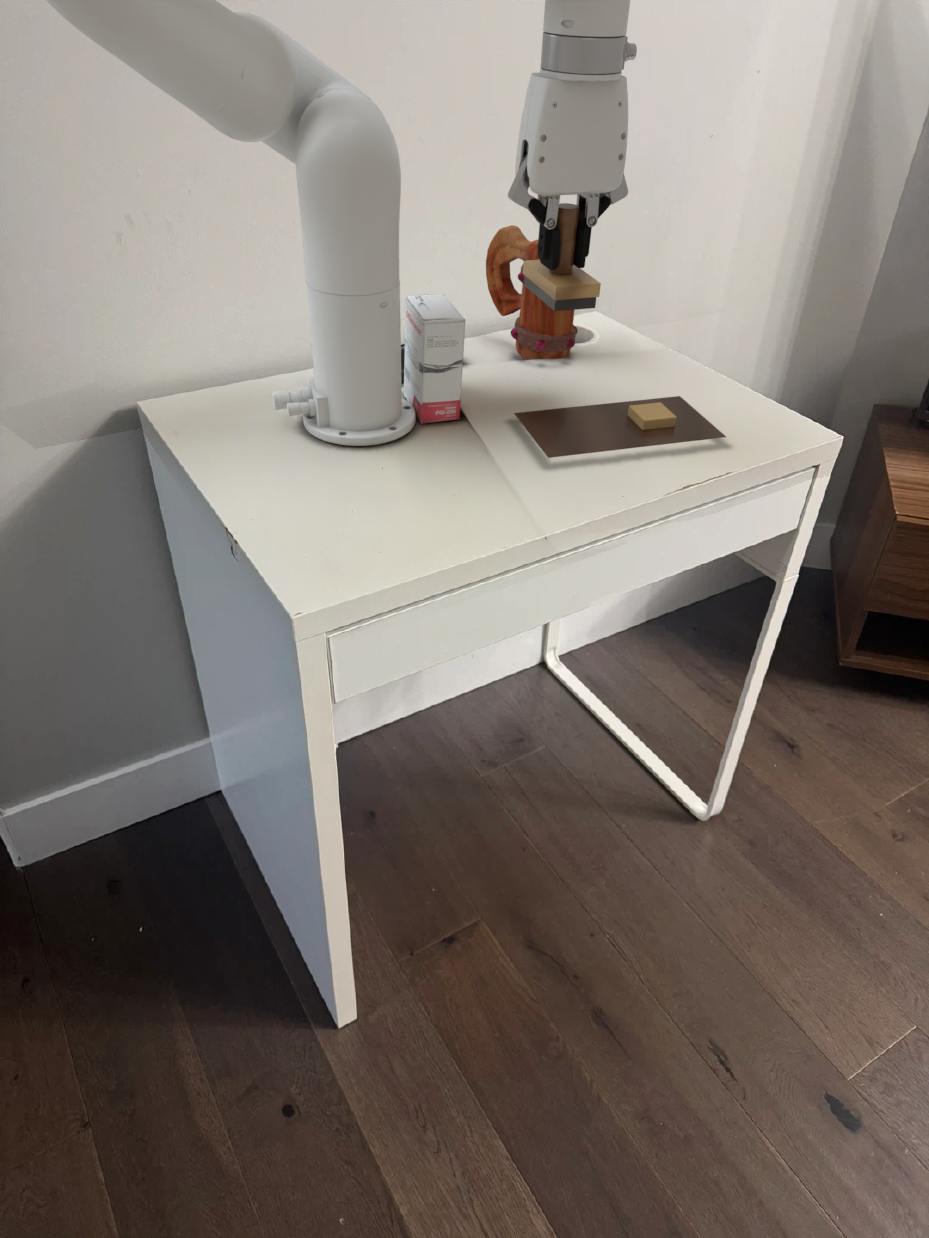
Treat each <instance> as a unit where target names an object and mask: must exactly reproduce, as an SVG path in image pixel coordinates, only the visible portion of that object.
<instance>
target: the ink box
mask: <svg viewBox="0 0 929 1238" xmlns="http://www.w3.org/2000/svg"><path fill="white" fill-rule="evenodd" d="M404 301H405V304H404V305H405V306H404V307H405V308H404V344H405V359H404V382H403V395H404V397H405V400H407V401H408V402H409V403H410V404H411V405H412V406H413V407H414V409H415V413H416V418H417V420H418V421H419V423H420V424H427V423H428V424H429V423H438V422H439V423H440V422H448V421H457V420H458V421H459V420H460V418H461V417H460V416H461V404H462V403H461V399H462V386H463V385H462V383H463V382H462V381H463V366H464V351H465V335H466V318H465V317H464V316H463V315H462V314H461V313H460V312H459V310H458V309H457V308H456V306H454V304H453V303H452V302H451V300H449V298H448V297H447V296H446V295H445V294H427V293H425V294H423V293H422V294H410V295H407V296H406V297H405V300H404Z"/></svg>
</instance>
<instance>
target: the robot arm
mask: <svg viewBox="0 0 929 1238" xmlns="http://www.w3.org/2000/svg"><path fill="white" fill-rule="evenodd" d="M45 1H46V2H47V3H48V4H49V5H50V6H51V7H52V8H53V9H54V10H55V11H56V12H57V13H58V14H59V15H60V16H61V17H62V18H64V19H65V20H66V21H67V22H68V23H69V24H71V25H72V26H73V27H74V28H76V30H78V31H79V32H80V33H82V34H83V35H85V36H86V37H87V38H88V39H90V40H91V41H93V42H94V43H95V44H97V45H98V46H99V47H101V48H102V49H103V50H105V51H106V52H108V53H109V54H111V55H113V56H114V57H115V58H116V59H118V60H120V61H121V62H123V64H125V65H126V66H128V67H129V68H131V69H132V70H133V71H135V72H136V73H138V74H139V75H140V76H141V77H142V78H144V79H145V80H147V81H148V82H149V83H151V84H152V85H154V86H155V87H157V88H158V89H160V90H161V91H163V92H164V93H165V94H167V95H168V96H170V97H171V98H173V99H174V100H175V101H177V102H179V103H180V104H181V105H183V107H186V108H187V109H189V110H190V111H191V112H193V113H194V114H195V115H197V116H198V117H200V118H201V119H202V120H204V121H205V122H206V123H208V124H209V125H210V126H211V127H213V128H214V129H216V130H217V131H218V132H219V133H221V134H223V135H225V136H226V137H228V138H230V139H232V140H237V141H240V142H244V143H259V142H261V143H263V144H265V145H267V146H268V147H269V148H270V149H272V150H273V151H275V152H277V153H278V154H280V156H283V157H284V158H286V159H287V160H289V161H290V162H292V163H293V164H294V165H295V176H296V186H297V187H296V188H297V194H298V196H297V197H298V205H299V215H300V225H301V237H302V249H303V262H304V263H303V264H304V275H305V283H306V291H307V306H308V317H309V330H310V331H309V332H310V340H311V355H312V367H313V368H312V369H313V377H308V385H307V386H301V387H300V390H293V391H289V390H282V391H281V390H279V391H272V393H271V395H272V404H273V409H274V411H277V410H278V411H279V410H286V411H287V417H295V416H300V415H302V420H303V421H302V422H303V426H304V428H305V430H306V431H307V432H308V433H309V434H311V435H312V436H314V437H315V438H317V439H319V440H322V441H323V442H326V443H331V444H333V445H340V446H350V447H367V446H368V447H369V446H376V445H381V444H386V443H389V442H393V441H396V440H398V439H400V438H402V437H404V436H405V435H407V434H408V433H410V432H411V431H412V429H414V427H415V425H416V418H417V416H416V413H415V409H414V407H413V406H412V405H411V404H410V403H409V402H408V401H407V399H406V398H403V397H402V396H403V395H402V394H403V393H402V391H403V390H402V389H403V388H402V382H401V345H402V334H401V333H402V332H401V330H402V329H401V326H402V325H401V324H402V323H401V322H402V321H401V280H400V279H401V278H400V214H401V197H402V196H401V194H402V193H401V191H402V174H401V173H402V171H401V170H402V169H401V161H400V153H399V148H398V144H397V142H396V138H395V135H394V134H393V132H392V130H391V127H390V125H389V123H388V121H387V119H386V118H385V116H384V115H385V114H384V113H383V112H382V110H381V109H380V108H379V106H378V105H377V104H376V103H375V101H373V99H372V98H371V97H369V96H368V95H367V94H365V93H364V92H363V91H362V90H361V89H359V87H357V86H355V85H354V84H353V83H351V82H350V81H349V80H348V79H347V78H345V77H344V76H342V75H341V74H340V73H338V72H337V71H336V70H335V69H333V68H332V67H330V66H329V65H328V64H327V63H325V62H324V61H323V60H321V59H320V58H318V56H316V55H314V54H313V53H312V52H311V51H309V50H308V49H307V48H305V46H303V45H302V44H301V43H299V42H297V40H295V39H293V38H292V36H290V35H288V34H287V33H285V31H283V30H282V29H280V28H279V27H277V26H276V25H275V24H273V23H271V22H270V21H268V20H266V19H265V18H263V17H261V16H258V15H256V14H253V13H250V12H246V11H232V10H230V9H229V7H226V6H225V5H223V4H221V2H219V1H218V0H45ZM630 6H631V0H544V11H543V12H544V13H543V26H542V40H541V52H540V53H541V54H540V68H539V72H531V74H530V77H529V81H528V83H527V84H528V85H527V89H526V92H525V98H524V102H523V107H522V114H521V118H520V125H519V131H518V138H517V146H516V147H517V148H516V154H515V155H516V156H515V167H514V168H515V170H514V171H515V174H514V175H515V177H514V178H513V181H512V184H511V186H510V188H509V190H508V192H507V198H508V200H510V201H511V202H513V203H514V204H516V205H519V206H520V207H523V208H524V209H526V210H528V211H529V212H530V214H531V215H532V216H533V218H534V219H535V221H536V222H537V223H539V225H538V227H539V228H538V238H537V240H538V251H537V253H538V258H539V259H540V262H541V264H543V265H544V266H545V267H547V268H548V269H549V270H556V268H557V267H558V257H559V247H560V236H561V231H560V230H559V229H558V228H557V216H558V209H559V204H560V200H561V196H573V195H576V204H575V205H578V206H579V217H578V226H577V236H576V245H575V255H574V264H573V265H575V266H576V267H578V268H580V269H584V268H585V266H586V259H587V258H588V256H589V254H590V248H591V247H590V245H591V237H592V230H593V229H592V228H593V227H595V226H596V225H597V224H598V220H599V219H600V217H602V215H603V214H604V213H605V212H606V210H608V208H609V207H610V206H611V205H614V204H616V203H617V202H620V201H621V200H623V199H624V198H626V197H627V196H628V195H629V188H628V184H627V180H626V176H625V169H626V168H625V167H626V160H627V159H626V158H627V147H628V135H629V91H628V90H629V89H628V80H627V79H628V78H627V76H624V75H622V73H623V72H622V71H623V70H624V69H625V62H628V61H634V60H635V59H636V57H637V52H638V49H637V44H636V43H632V42H631V43H630V42H629V41H628V36H627V31H628V24H629V16H630ZM529 189H530V191H531V192H532V193H534V194H536V195H537V197H535V196H533V195H531V194H529Z"/></svg>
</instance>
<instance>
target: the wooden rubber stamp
mask: <svg viewBox="0 0 929 1238" xmlns="http://www.w3.org/2000/svg"><path fill="white" fill-rule="evenodd" d="M578 217H579V206H578V205H576V204H575V203H568V202H567V203H565V202H563V203H561V202H560V203H559V209H558V216H557V228H558V229H559V230H560V231H561V236H560V247H559V257H558V267H557V268H556V270H549V269H548V268H547V267H545V266H544V265H543V264H541V262H540V260H527V261H523V263H524V264H523V263H522V265H523V274H524V275H525V284H524V285H525V286H526V287H527V288H528V289H529V290H530V291H532V292H533V293H534V294H535V295H536V296H537V297H539V298H540V299H541V300H542V301H543V302H544V303H546V304H547V305H548V306H549V307H550V308H551V309H553V310H554V311H565V310H574V311H575V310H576V311H577V310H588V309H589V310H590V309H596V305H597V304H596V303H597V298H600V295H601V294H600V292H601V286H602V285H601V284H602V283H601V282H600V281H598V280H597V279H596V278H594V277H593V276H592V275H590V274H589V273H587V272H586V271H584V270H583V268H578V267H576V266H575V265H573V264H574V255H575V245H576V236H577V226H578Z"/></svg>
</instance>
